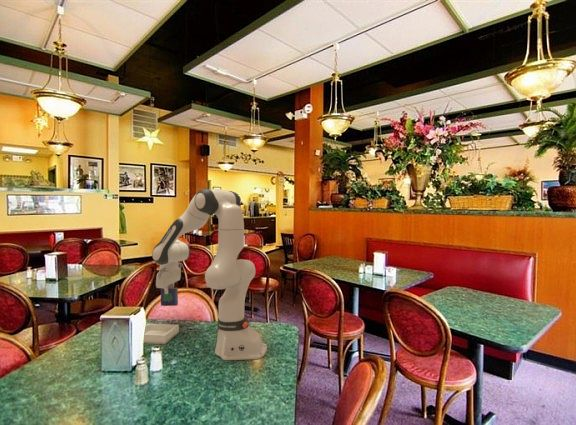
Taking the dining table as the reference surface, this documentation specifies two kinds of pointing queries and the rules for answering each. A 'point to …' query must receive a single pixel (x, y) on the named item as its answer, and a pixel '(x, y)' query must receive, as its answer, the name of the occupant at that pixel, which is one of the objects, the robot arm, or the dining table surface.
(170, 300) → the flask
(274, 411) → the dining table surface
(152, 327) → the tub
